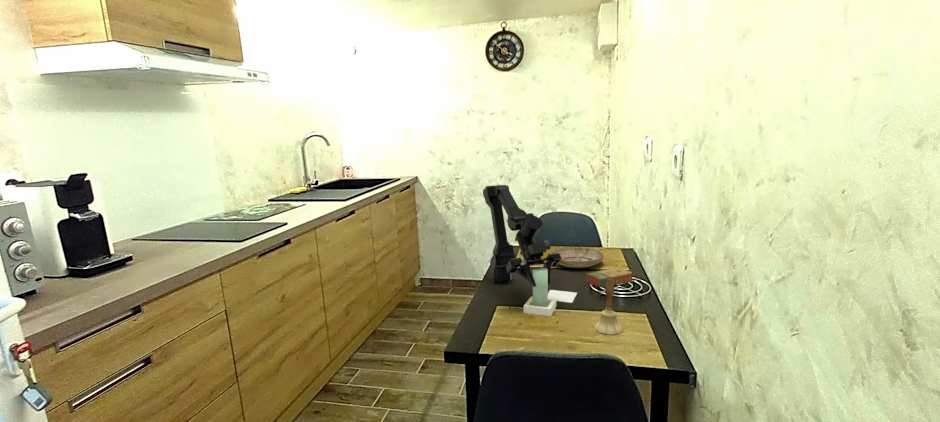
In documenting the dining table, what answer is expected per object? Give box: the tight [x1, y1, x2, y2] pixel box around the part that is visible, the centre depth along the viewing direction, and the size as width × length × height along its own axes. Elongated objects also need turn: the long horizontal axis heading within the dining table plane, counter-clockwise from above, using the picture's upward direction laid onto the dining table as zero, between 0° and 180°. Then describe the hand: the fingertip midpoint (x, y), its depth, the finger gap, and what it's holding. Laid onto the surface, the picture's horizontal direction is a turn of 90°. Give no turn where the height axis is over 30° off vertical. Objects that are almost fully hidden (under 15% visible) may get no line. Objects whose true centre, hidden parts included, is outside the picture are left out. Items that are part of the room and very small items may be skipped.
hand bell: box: [594, 279, 623, 336], centre depth 142 cm, size 8×8×16 cm
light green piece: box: [532, 266, 549, 304], centre depth 157 cm, size 5×5×11 cm
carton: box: [585, 266, 633, 288], centre depth 185 cm, size 8×16×4 cm, turn 114°
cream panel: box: [548, 289, 578, 304], centre depth 170 cm, size 10×10×1 cm
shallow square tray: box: [523, 296, 557, 317], centre depth 159 cm, size 9×9×3 cm
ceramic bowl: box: [549, 247, 605, 269], centre depth 209 cm, size 23×24×5 cm
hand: (542, 285), depth 156 cm, fingers closed on light green piece, 5 cm apart
